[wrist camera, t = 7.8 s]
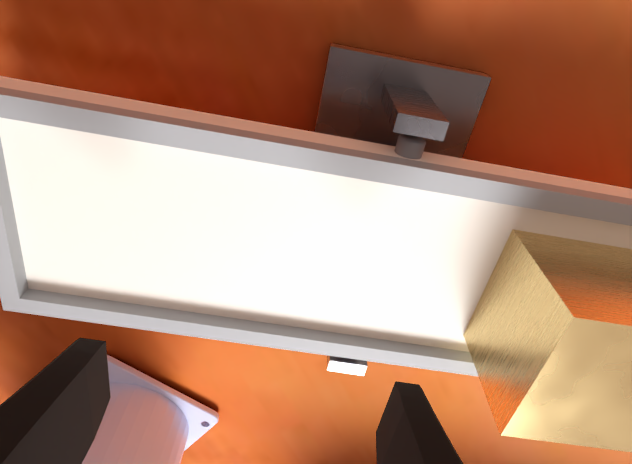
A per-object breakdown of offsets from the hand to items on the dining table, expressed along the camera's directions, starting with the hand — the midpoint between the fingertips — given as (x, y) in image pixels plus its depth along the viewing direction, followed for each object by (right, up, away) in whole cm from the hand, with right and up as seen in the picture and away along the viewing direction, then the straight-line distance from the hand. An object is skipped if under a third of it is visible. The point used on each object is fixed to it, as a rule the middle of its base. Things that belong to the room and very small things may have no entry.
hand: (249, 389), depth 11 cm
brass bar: (+12, +1, +6) cm, 13 cm away
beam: (+4, +3, +6) cm, 7 cm away
